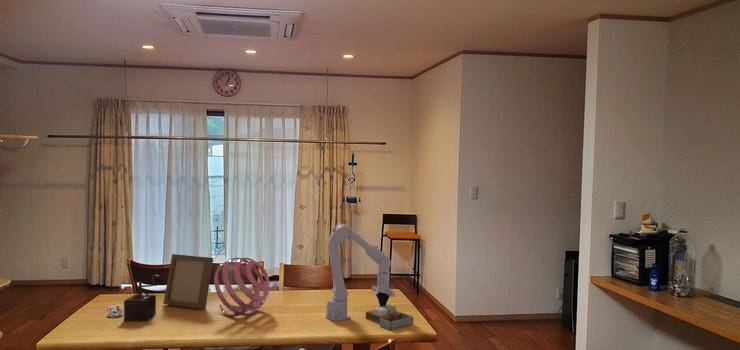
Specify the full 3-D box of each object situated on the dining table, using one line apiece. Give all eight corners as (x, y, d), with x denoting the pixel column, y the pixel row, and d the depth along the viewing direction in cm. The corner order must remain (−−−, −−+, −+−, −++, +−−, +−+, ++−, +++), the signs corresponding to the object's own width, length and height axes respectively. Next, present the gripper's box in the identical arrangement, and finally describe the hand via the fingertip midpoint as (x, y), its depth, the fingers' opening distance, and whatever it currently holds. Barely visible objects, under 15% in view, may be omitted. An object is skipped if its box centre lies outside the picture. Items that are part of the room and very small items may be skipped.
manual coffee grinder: (147, 321, 217) (148, 282, 216) (123, 321, 217) (123, 281, 216) (162, 311, 232) (162, 273, 232) (139, 310, 232) (139, 273, 232)
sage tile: (388, 314, 225) (389, 308, 225) (382, 311, 229) (382, 306, 229) (396, 312, 228) (396, 307, 228) (389, 310, 232) (389, 304, 232)
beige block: (380, 316, 222) (380, 310, 222) (373, 313, 225) (373, 308, 225) (387, 314, 225) (387, 309, 225) (380, 312, 228) (381, 306, 228)
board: (382, 325, 219) (382, 318, 219) (365, 318, 228) (365, 311, 228) (403, 319, 227) (403, 313, 227) (386, 313, 237) (386, 307, 236)
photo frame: (199, 310, 233) (200, 259, 233) (163, 305, 240) (164, 255, 240) (218, 302, 247) (219, 254, 247) (183, 298, 254) (184, 251, 254)
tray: (390, 330, 212) (390, 322, 212) (379, 326, 217) (379, 318, 217) (413, 324, 221) (413, 316, 221) (402, 320, 226) (402, 312, 226)
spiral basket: (190, 272, 229) (231, 244, 221) (231, 275, 253) (270, 249, 246) (205, 328, 217) (249, 300, 210) (247, 325, 241) (288, 300, 234)
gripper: (399, 282, 229) (399, 310, 229) (379, 276, 240) (379, 303, 240) (388, 284, 224) (388, 313, 225) (368, 278, 235) (368, 305, 236)
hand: (382, 308), depth 232 cm, fingers closed
